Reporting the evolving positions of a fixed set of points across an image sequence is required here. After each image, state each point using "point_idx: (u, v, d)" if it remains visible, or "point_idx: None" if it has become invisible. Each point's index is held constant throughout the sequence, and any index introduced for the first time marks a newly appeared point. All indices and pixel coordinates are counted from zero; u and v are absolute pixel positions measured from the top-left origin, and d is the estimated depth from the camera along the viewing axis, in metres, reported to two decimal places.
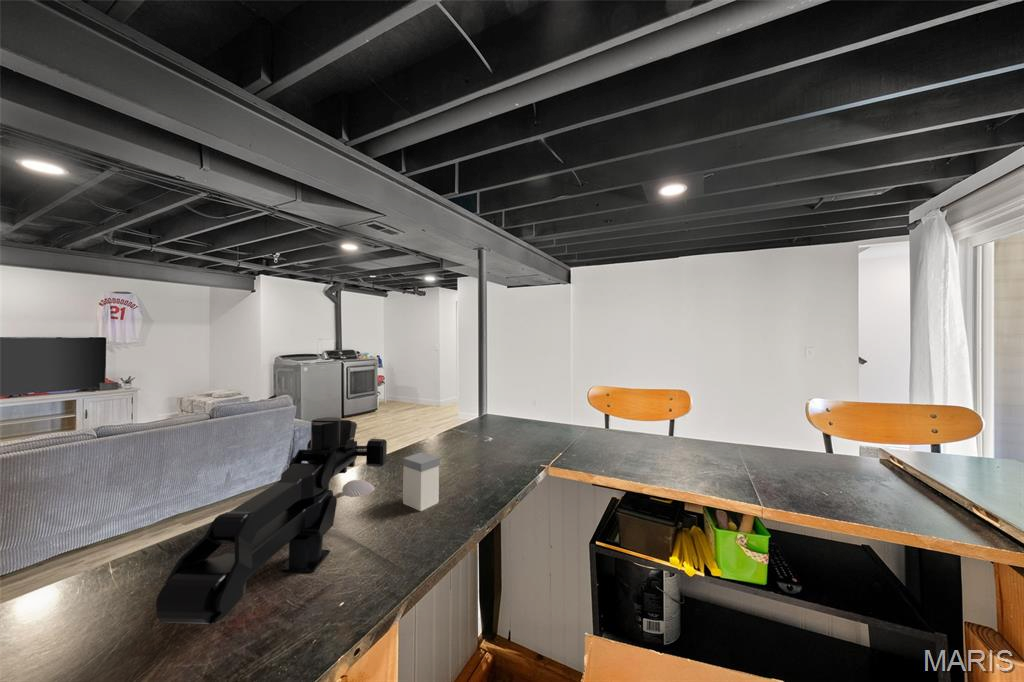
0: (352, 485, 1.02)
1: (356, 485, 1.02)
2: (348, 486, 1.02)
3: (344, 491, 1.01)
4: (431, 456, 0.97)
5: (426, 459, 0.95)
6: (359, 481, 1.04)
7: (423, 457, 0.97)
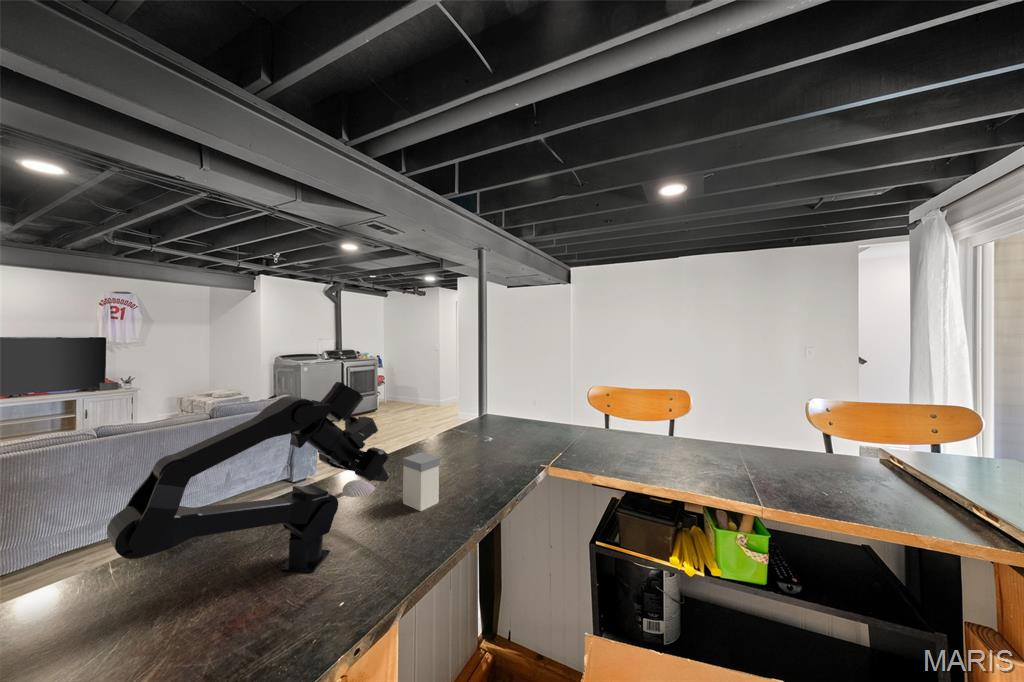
0: (352, 485, 1.02)
1: (356, 485, 1.02)
2: (348, 486, 1.02)
3: (344, 491, 1.01)
4: (431, 456, 0.97)
5: (426, 459, 0.95)
6: (359, 481, 1.04)
7: (423, 457, 0.97)
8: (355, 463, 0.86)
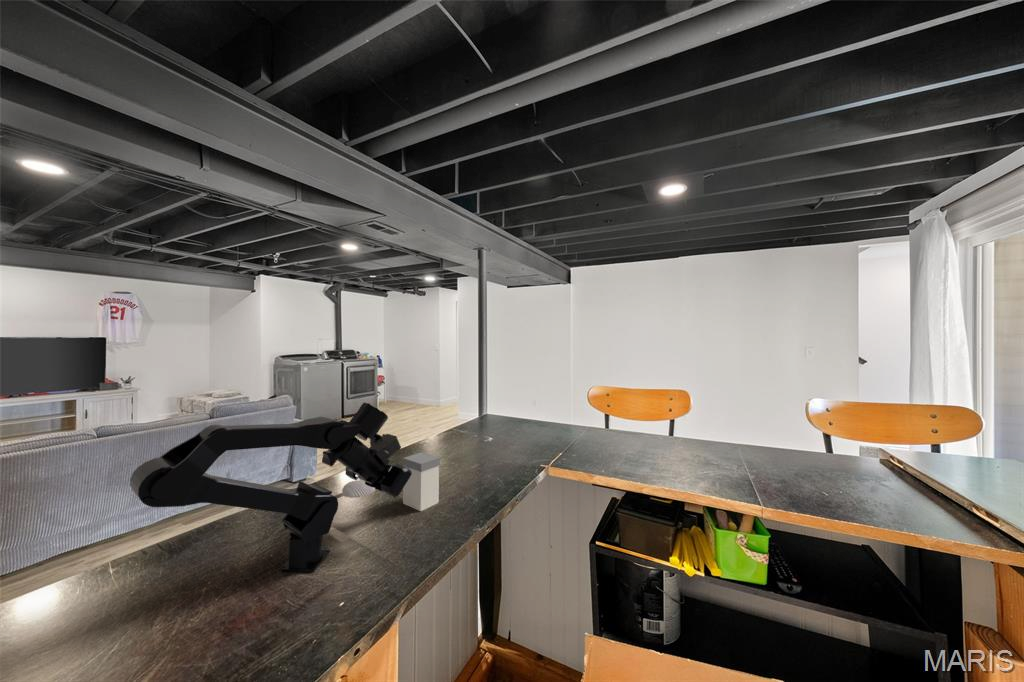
0: (352, 486, 1.02)
1: (356, 486, 1.02)
2: (348, 487, 1.02)
3: (344, 492, 1.01)
4: (431, 456, 0.97)
5: (426, 459, 0.95)
6: (359, 482, 1.04)
7: (423, 457, 0.97)
8: None
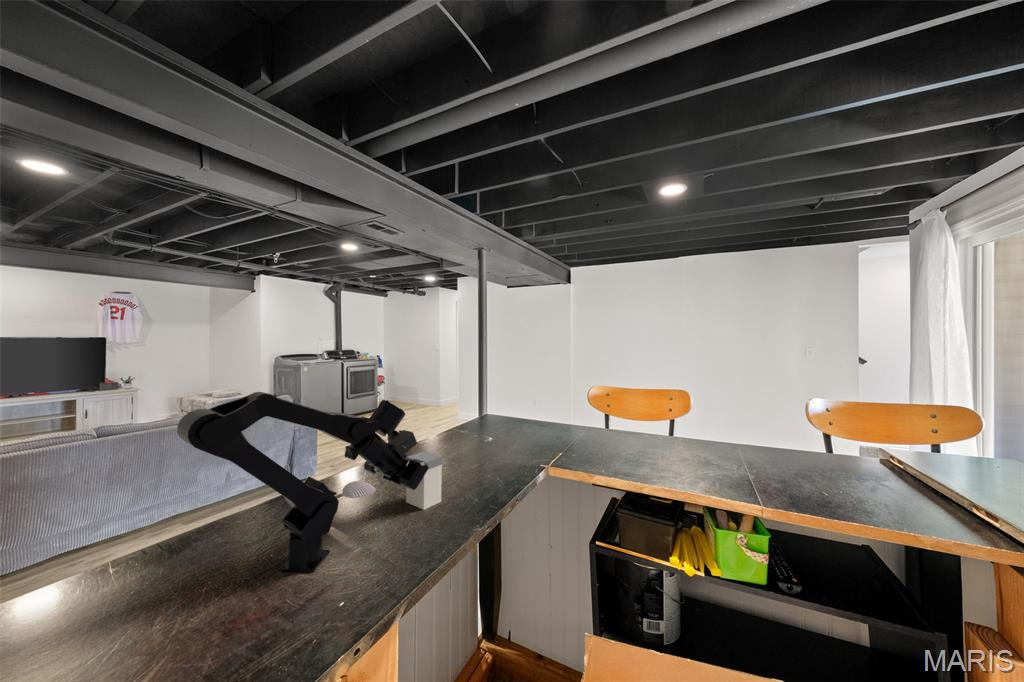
0: (353, 486, 1.01)
1: (357, 486, 1.01)
2: (349, 487, 1.01)
3: (345, 492, 1.01)
4: (434, 455, 0.98)
5: (429, 458, 0.96)
6: (360, 482, 1.03)
7: (426, 456, 0.98)
8: None
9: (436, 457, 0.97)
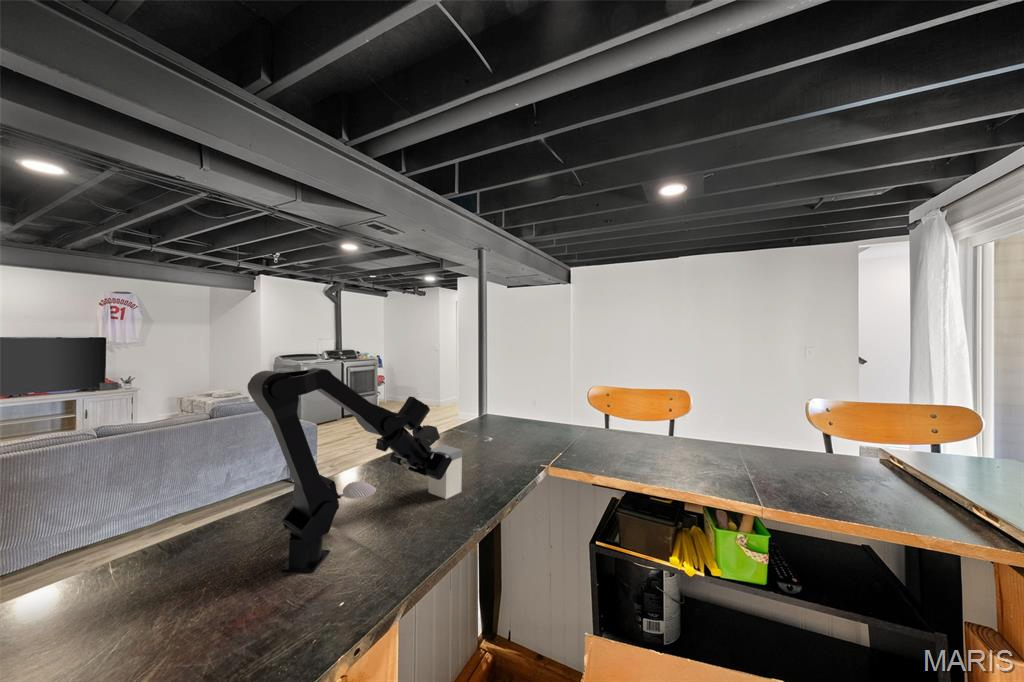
0: (353, 487, 1.01)
1: (357, 487, 1.01)
2: (349, 488, 1.01)
3: (345, 493, 1.00)
4: (454, 448, 1.04)
5: (450, 451, 1.02)
6: (360, 483, 1.03)
7: (447, 449, 1.04)
8: None
9: (457, 450, 1.03)
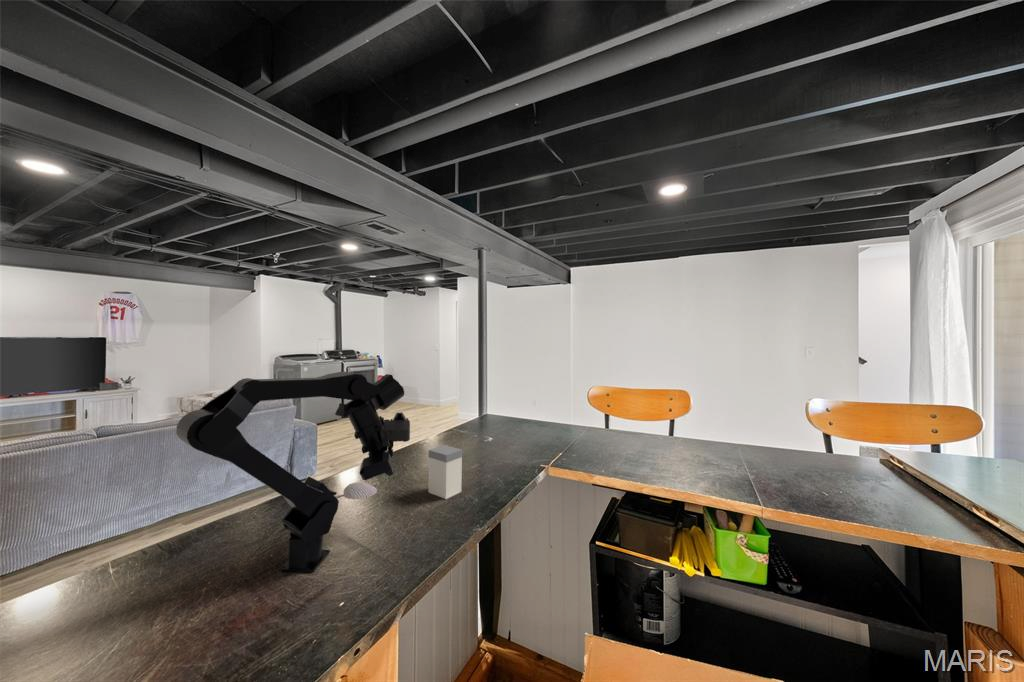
0: (354, 487, 1.01)
1: (358, 487, 1.01)
2: (350, 488, 1.01)
3: (346, 494, 1.00)
4: (454, 448, 1.04)
5: (450, 451, 1.02)
6: (361, 483, 1.03)
7: (447, 449, 1.04)
8: None
9: (457, 450, 1.03)
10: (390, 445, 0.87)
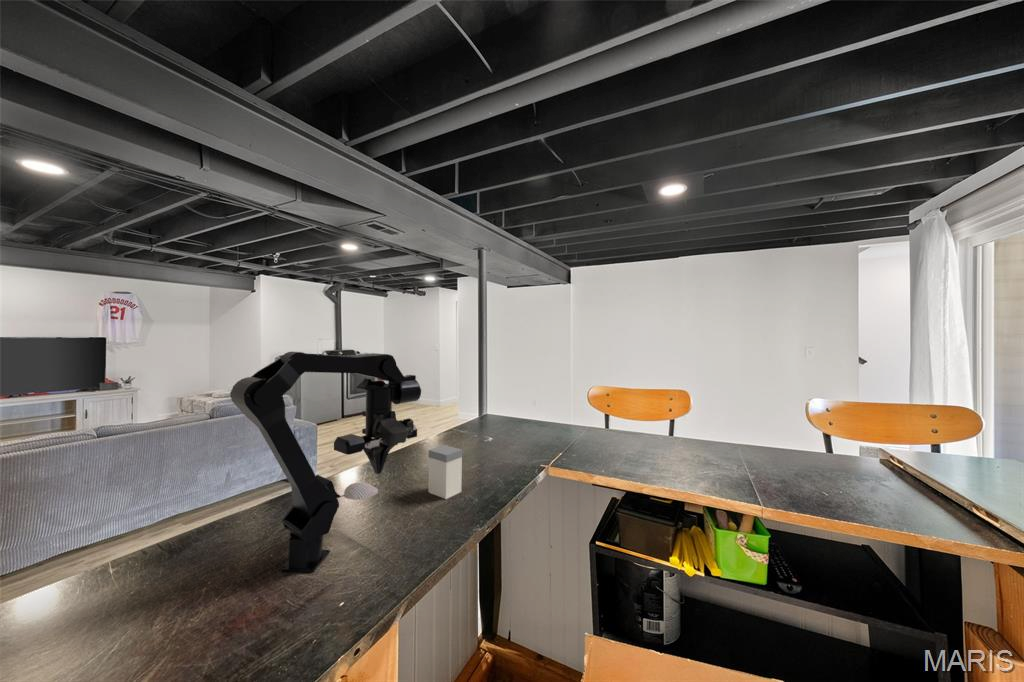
0: (355, 488, 1.00)
1: (359, 488, 1.01)
2: (351, 489, 1.00)
3: (347, 494, 1.00)
4: (454, 448, 1.04)
5: (450, 451, 1.02)
6: (362, 483, 1.02)
7: (447, 449, 1.04)
8: None
9: (457, 450, 1.03)
10: (388, 444, 0.85)
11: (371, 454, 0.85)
